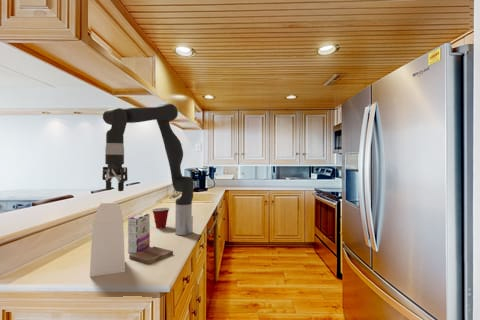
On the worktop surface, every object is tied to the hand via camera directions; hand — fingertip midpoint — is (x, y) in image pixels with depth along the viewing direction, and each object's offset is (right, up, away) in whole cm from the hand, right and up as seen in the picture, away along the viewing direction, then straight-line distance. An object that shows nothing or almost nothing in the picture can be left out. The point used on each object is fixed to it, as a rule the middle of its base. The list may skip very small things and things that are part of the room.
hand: (114, 190), depth 121 cm
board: (+16, -29, 0) cm, 34 cm away
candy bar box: (+7, -30, +9) cm, 32 cm away
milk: (+4, -30, -13) cm, 33 cm away
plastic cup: (+5, -29, +52) cm, 60 cm away
